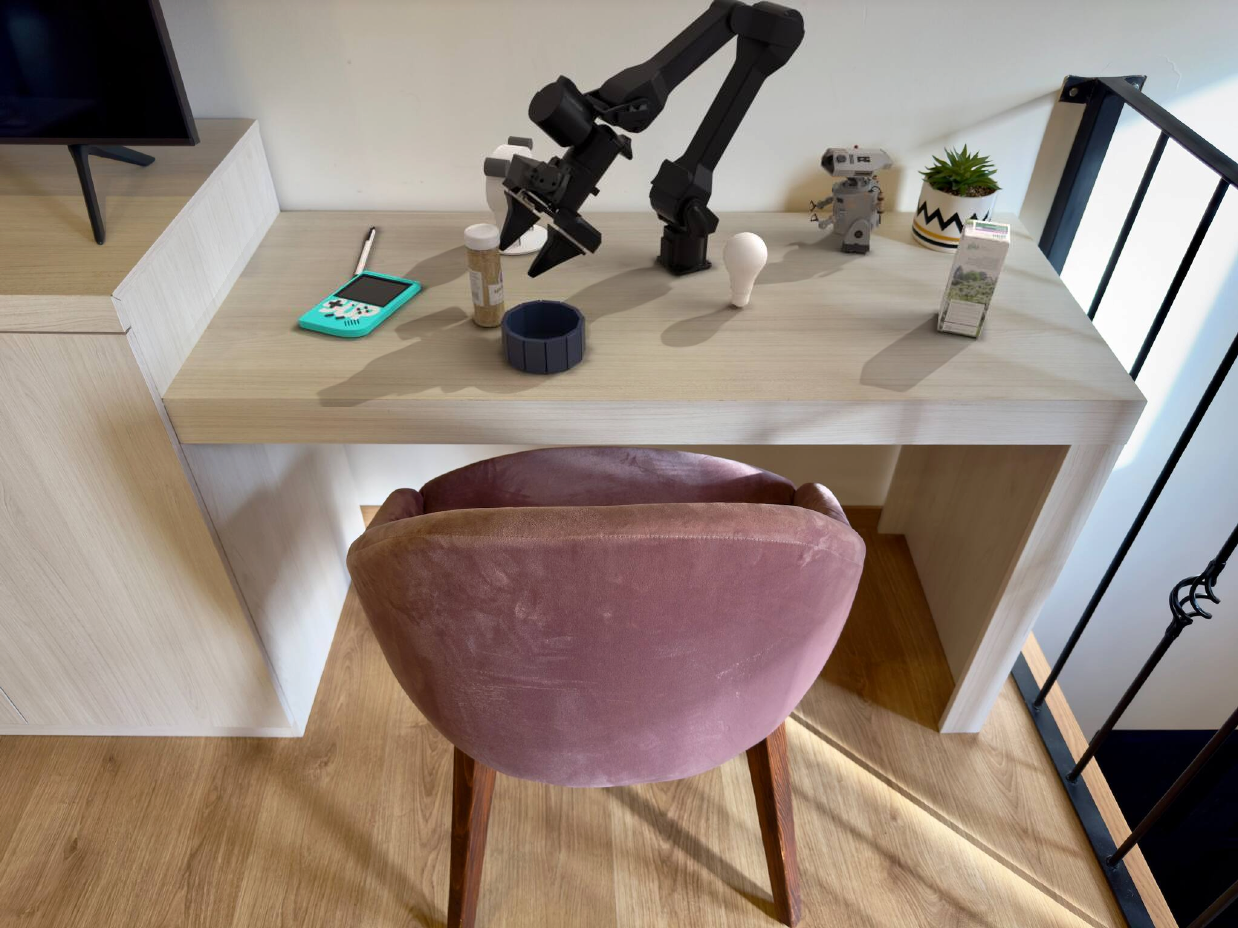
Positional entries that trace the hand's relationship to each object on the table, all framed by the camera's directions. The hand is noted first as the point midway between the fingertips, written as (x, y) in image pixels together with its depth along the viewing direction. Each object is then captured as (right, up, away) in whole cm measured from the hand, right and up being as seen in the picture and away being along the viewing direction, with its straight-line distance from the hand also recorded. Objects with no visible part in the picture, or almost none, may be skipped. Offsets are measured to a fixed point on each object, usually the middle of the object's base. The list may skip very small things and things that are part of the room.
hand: (514, 262), depth 117 cm
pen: (-26, +5, +19) cm, 32 cm away
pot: (+4, -13, -3) cm, 14 cm away
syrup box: (+62, -8, +3) cm, 62 cm away
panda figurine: (-3, +9, +23) cm, 25 cm away
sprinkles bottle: (-4, -7, +3) cm, 9 cm away
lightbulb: (+32, -5, +7) cm, 33 cm away
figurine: (+51, +9, +24) cm, 57 cm away
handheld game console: (-22, -5, +6) cm, 24 cm away
